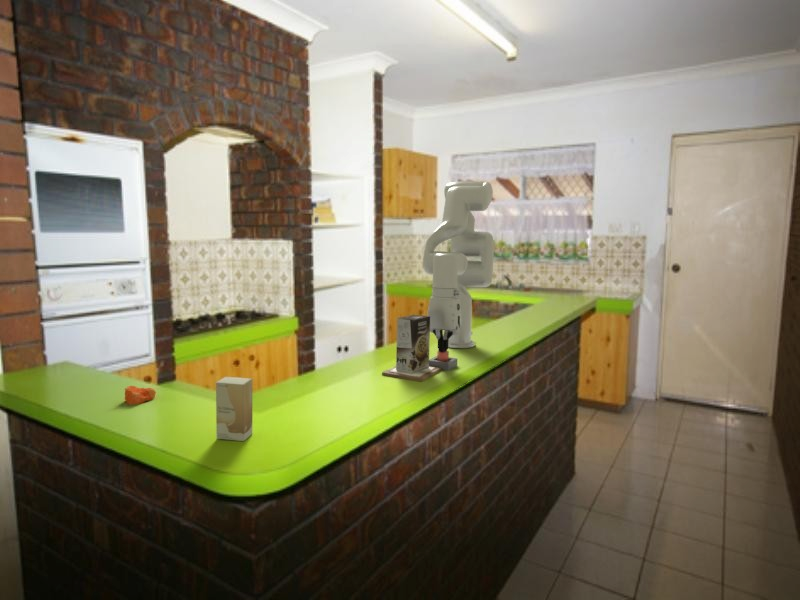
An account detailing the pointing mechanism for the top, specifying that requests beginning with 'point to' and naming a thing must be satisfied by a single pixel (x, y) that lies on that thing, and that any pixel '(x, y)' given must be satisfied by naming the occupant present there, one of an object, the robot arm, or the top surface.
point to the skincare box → (234, 408)
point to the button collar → (443, 363)
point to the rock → (138, 395)
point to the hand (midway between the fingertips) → (442, 351)
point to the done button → (443, 356)
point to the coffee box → (413, 343)
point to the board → (415, 376)
